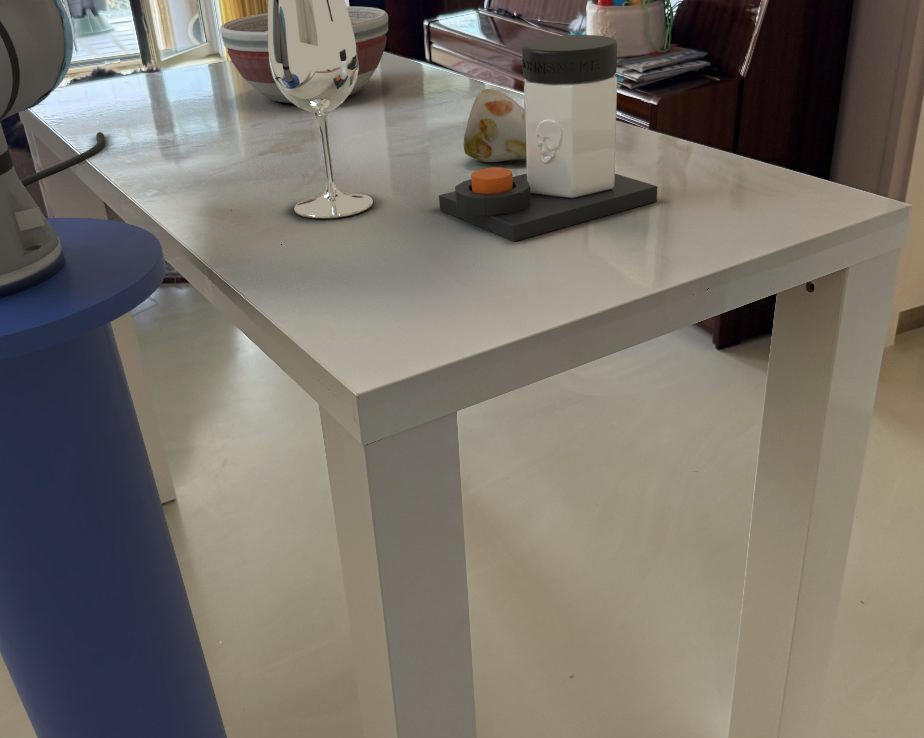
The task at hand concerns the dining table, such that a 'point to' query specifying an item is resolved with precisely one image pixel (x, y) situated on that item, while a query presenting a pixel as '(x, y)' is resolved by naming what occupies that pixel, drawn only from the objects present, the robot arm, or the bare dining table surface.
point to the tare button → (491, 180)
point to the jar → (570, 114)
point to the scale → (541, 206)
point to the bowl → (252, 52)
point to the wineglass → (316, 81)
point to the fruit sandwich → (495, 128)
